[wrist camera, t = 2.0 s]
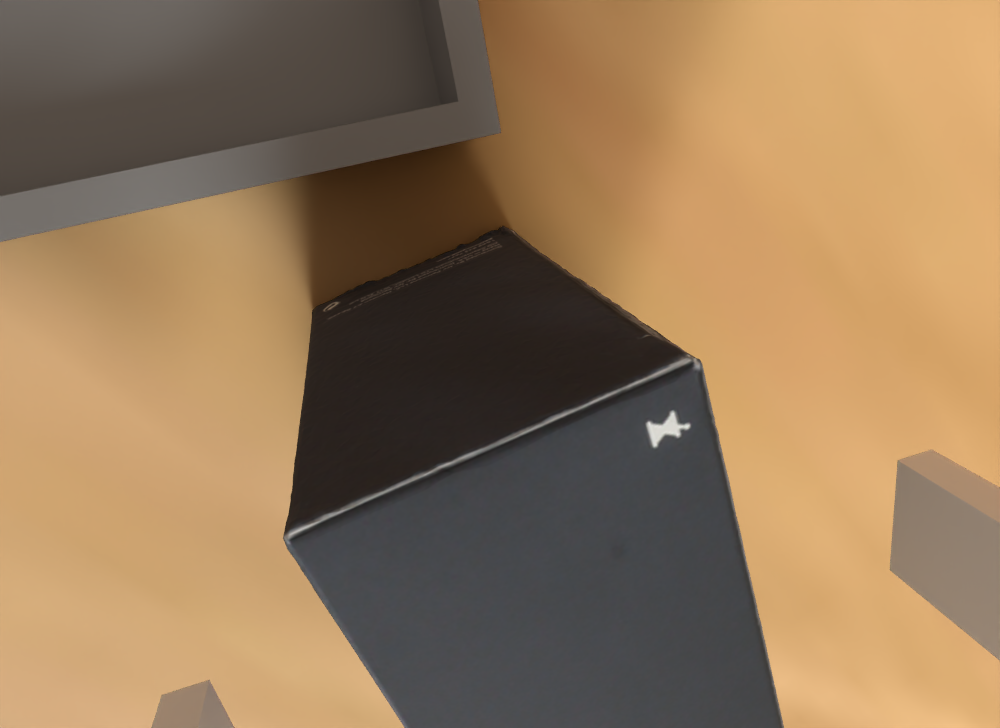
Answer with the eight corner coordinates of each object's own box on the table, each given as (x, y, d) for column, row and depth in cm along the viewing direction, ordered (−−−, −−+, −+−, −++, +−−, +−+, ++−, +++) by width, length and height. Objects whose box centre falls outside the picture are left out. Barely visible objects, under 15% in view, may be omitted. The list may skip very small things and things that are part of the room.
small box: (292, 309, 17) (245, 542, 8) (511, 218, 18) (719, 329, 8) (436, 583, 22) (521, 948, 12) (608, 503, 22) (817, 790, 13)
